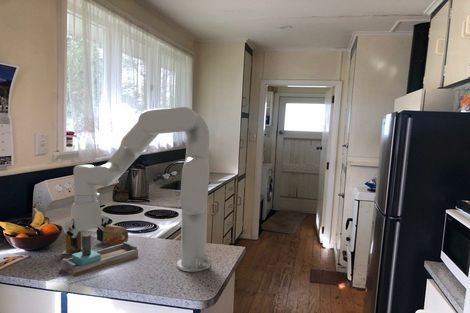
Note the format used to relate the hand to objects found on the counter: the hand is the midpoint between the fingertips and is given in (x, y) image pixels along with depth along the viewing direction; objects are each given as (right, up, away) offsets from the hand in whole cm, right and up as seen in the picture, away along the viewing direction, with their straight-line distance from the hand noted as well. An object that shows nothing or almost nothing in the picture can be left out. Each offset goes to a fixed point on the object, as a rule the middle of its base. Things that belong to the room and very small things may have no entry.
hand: (87, 243), depth 131 cm
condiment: (-12, -7, +17) cm, 22 cm away
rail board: (+3, -8, +5) cm, 10 cm away
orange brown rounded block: (+1, -7, +26) cm, 27 cm away
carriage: (-1, -7, +1) cm, 7 cm away
